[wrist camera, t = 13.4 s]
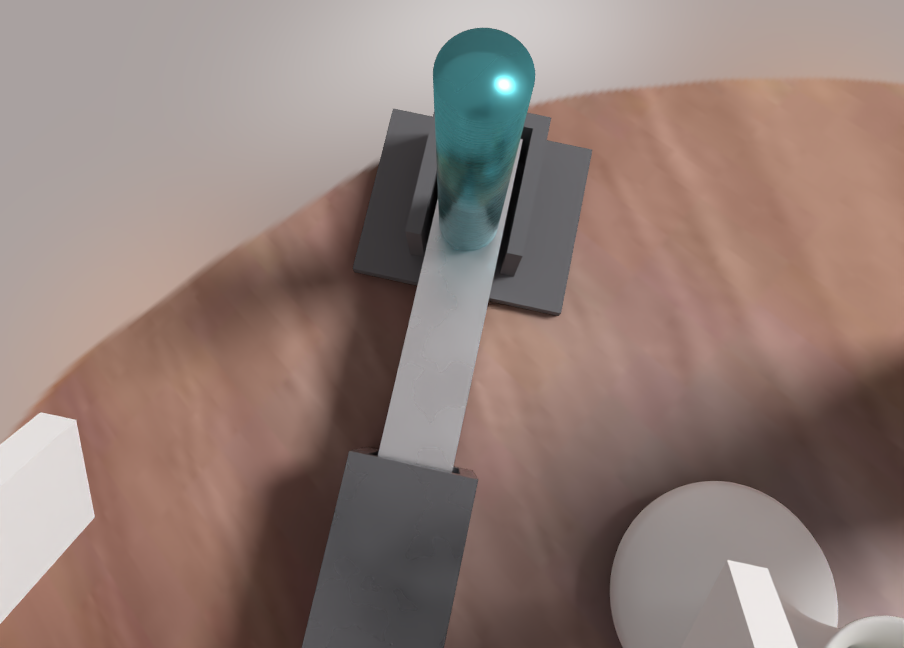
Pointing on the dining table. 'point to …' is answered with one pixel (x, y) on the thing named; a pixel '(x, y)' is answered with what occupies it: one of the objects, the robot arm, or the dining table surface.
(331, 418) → the dining table surface
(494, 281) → the socket
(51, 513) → the robot arm
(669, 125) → the dining table surface
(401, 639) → the dark grey rectangular prism
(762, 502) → the flower in vase
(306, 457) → the dining table surface
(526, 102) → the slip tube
